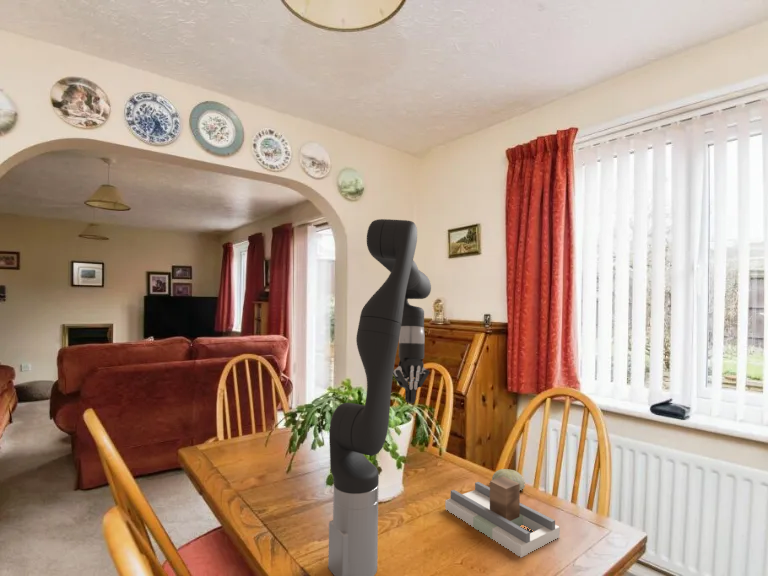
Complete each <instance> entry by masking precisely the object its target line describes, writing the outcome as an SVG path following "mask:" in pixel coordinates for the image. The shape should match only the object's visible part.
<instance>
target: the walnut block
mask: <svg viewBox="0 0 768 576" xmlns="http://www.w3.org/2000/svg"><path fill="white" fill-rule="evenodd" d="M489 487H490V510H491V511H493V512H495V513H496V514H498V515H500V516H502V517H504V518H505V519H507V520H509V521H511V520H514V519H516V518H518V517H520V503H521V500H520V499H521V498H520V496H521V495H520V494H521V492H520V484H519V483H517V482H515V481H512V480H510V479H508V478H506V477H504V476H503V477H500V478H497V479H494V480H492V479H491V480H490V481H489Z"/></svg>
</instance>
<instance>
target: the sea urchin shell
mask: <svg viewBox="0 0 768 576" xmlns="http://www.w3.org/2000/svg"><path fill="white" fill-rule="evenodd" d="M503 476H504V477H506V478H508V479H510V480H512V481H515V482H517V483H519V484H520V490H521V491H523V490H524V489H525V487H526V481H525V478H524V477H523V475H522V474H521V473H520V472H518V471H516V470H514V469H510V468H509V469H507V468H500V469H498V470H497V471H495V472H494V473H493V475H492V478H491V480H494V479H497V478H500V477H503ZM524 484H525V485H524ZM522 489H523V490H522Z"/></svg>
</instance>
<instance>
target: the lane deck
mask: <svg viewBox="0 0 768 576" xmlns="http://www.w3.org/2000/svg"><path fill="white" fill-rule="evenodd" d="M474 489H475V490H470V491H468V492H465V493H460V492H459V491H457V490H455V489H452V490H450V497H449V498H448V499H445V505H444V506H445V509H446V510H445V509H444V510H445V511H447V510H448V511H449V512H448V511H447V512H448V513H450V514H451V513H452V514H451V515H453V514H454V515H455V517H456V516H457V517H456V518H458V519H459V518H460V519H459V520H461V519H462V520H463V521H462V520H461V521H462V522H464V521H465V522H466V524H467V523H468V524H467V525H469V526H470V525H471V526H470V527H472V528H473V527H474V529H475V530H477V531H478V530H479V531H478V532H479V533H481V532H482V534H483V533H484V534H485V535H484V534H483V535H484V536H486V535H487V536H486V537H488V538H489V537H490V538H489V539H491V540H492V539H493V540H492V541H494V540H495V541H496V542H495V541H494V542H495V543H497V542H498V543H497V544H499V545H500V544H501V545H500V546H502V547H503V546H504V547H503V548H505V549H506V548H507V549H506V550H508V549H509V550H508V551H509V552H511V551H512V552H511V553H512V554H514V553H515V555H516V556H517V557H519V556H520V557H519V558H523V557H525V556H527V555H529V554H531V553H532V551H533V552H535V551H536V549H537V550H539V549H541V548H542V546H543V547H544V545H545V544H547V543H548V544H550V543H552V542H554V541H556V540H558V539H560V538H561V535H560V534H561V530H560V529H561V527H560V526H559V525H557V524H556V520H555V519H553V518H551V517H549V516H547V515H545V514H543V513H541V512H539V511H537V510H535V509H534V508H531V507H529V506H527V505H526V504H523V503H521V502H520V517H518V518H516V519H514V520H511V521H509V520H507V519H505V518H504V517H502V516H500V515H498V514H496V513H495V512H493V511H491V510H490V486H488V485H485V484H484V483H482V482H480V481H476V482H475V483H474ZM454 515H453V516H454ZM465 522H464V523H465ZM521 525H524V526H526V527H528V528H529V529H531V530H530V531H529V529H528V528H527V530H526V529H524V528H525V527H524V528H522V527H520V526H521ZM532 530H533V531H534V532H533V531H532ZM559 537H560V538H559ZM557 538H558V539H557ZM555 539H556V540H555ZM553 540H554V541H553ZM551 541H552V542H551ZM549 542H550V543H549ZM548 544H547V545H548ZM545 546H546V545H545ZM540 547H541V548H540ZM538 548H539V549H538ZM534 550H535V551H534ZM530 552H531V553H530ZM528 553H529V554H528Z"/></svg>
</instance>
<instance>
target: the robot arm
mask: <svg viewBox="0 0 768 576" xmlns="http://www.w3.org/2000/svg"><path fill="white" fill-rule="evenodd" d="M417 242H418V227H417V225H416V223H415V222H413V221H411V220H406V219H387V218H386V219H385V218H384V219H383V218H380V219H376V220H375V219H374V220H372V221H371V223H370V224H369V226H368V229H367V233H366V245H367V246H366V247H367V249H368V252H369V254H370V255H371V256H372V258H374V259H375V260H376V261H377V262H378V263H380V264H381V265H382V266H383V267H384V268H385V269H387V270H388V271H389V275H388V277H387V278H386V280H385V281H384V282H383V283H382V284H381V286H380V287H379V288H378V290H376V291H375V292H374V294H373V295H372V296H371V297H370V298H369V300H367V301H366V303H365V304H364V306H363V308H362V309H361V312H360V315H359V321H358V327H357V331H356V338H355V339H356V346H357V347H356V349H357V351H358V354H359V357H360V361H361V363H362V365H363V369H364V372H365V376H366V398H365V401H364V402H365V404H359V403H354V402H353V403H352V402H343V403H341V404H339V405H338V406H337V407H336V409H335V410H334V411H333V413H332V416H331V418H330V423H329V433H328V435H329V464H330V465H329V467H330V472H331V474H332V477H333V504H332V505H333V506H332V508H333V509H332V520H330V521H329V523H328V562H327V563H328V564H327V565H328V567H327V568H328V570H329V571H330V572H331V574H333V576H376V573H377V572H378V550H379V549H378V547H379V545H378V542H379V537H378V536H379V482H380V481H379V470H378V468H377V467H376V465H374V464H373V463H372V462H371V461H370V460H369V459H368V458H366V456H372V457H373V456H376V455H377V454H379V452H380V451H382V449H383V447H384V445H385V442H386V439H387V435H388V430H389V429H388V428H389V425H390V423H389V421H390V409H391V408H390V407H391V399H392V398H391V396H392V387H393V386H392V384H393V377H394V378H395V380H396V382H397V384H398V385H399V387H400V388H403V389H404V390H405V391H404V397H405V398H404V399H405V402H406V403H407V404H414V403H415V402H416V398H417V397H416V395H417V392H416V391H417V390H418V389H419V388H422V387H423V385H424V382H425V381H426V379H427V377H428V376H429V375H430V370H429V369H426V368H425V366H424V365H425V364H424V361H423V359H425V338H426V337H425V311H424V309H423V308H422V307H419V306H414V305H411V304H410V303H409V300H423V299H426V298H428V297H429V295H430V294H431V291H432V285H431V281H430V278H429V277H428V276H427V274H425V273H423V272H422V271H421V270H420V269H419V267H418V265H417V263H416V262H415V260H414V258H415V254H416V253H415V252H416V248H417ZM397 350H398V358H399V362H398V366H397V367H396V368H395V363H396V357H397Z"/></svg>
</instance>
